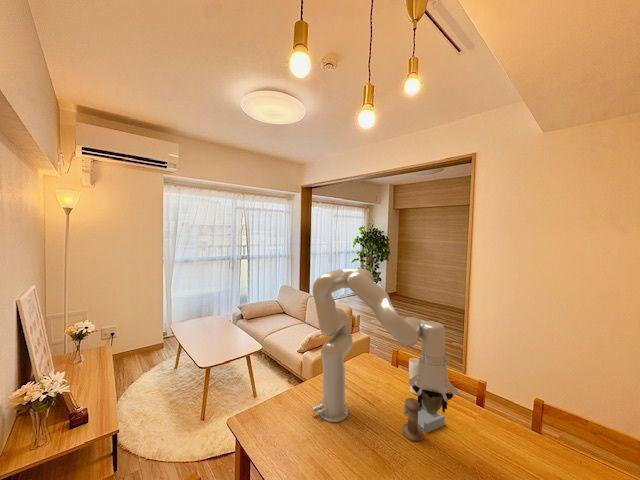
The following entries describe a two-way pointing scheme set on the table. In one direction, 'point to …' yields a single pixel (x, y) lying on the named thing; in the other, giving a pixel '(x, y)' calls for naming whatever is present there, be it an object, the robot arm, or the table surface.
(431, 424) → the open box
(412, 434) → the bobbin
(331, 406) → the robot arm
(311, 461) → the table surface
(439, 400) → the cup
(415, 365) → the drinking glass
